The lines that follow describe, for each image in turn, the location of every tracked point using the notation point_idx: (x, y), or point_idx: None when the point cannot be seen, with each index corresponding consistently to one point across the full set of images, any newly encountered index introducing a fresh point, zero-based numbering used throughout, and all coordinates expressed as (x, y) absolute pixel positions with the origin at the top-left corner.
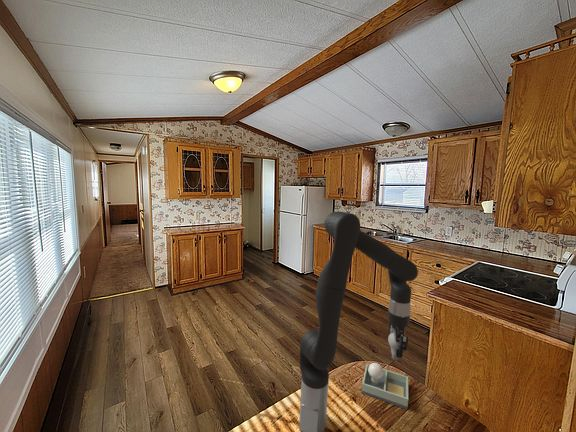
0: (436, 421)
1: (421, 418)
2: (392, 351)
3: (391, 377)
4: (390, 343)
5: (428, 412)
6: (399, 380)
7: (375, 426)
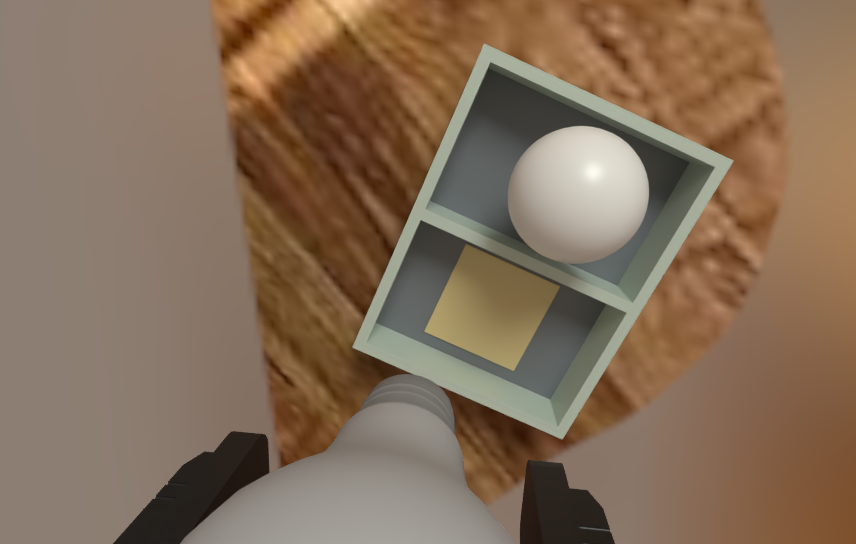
0: (307, 433)
1: (316, 369)
2: (361, 425)
3: (598, 326)
4: (265, 489)
5: None
6: (570, 370)
7: (228, 78)
